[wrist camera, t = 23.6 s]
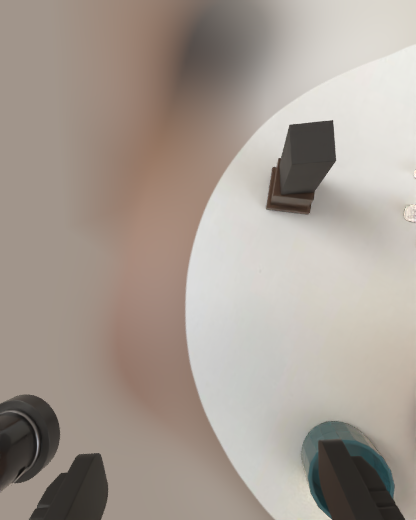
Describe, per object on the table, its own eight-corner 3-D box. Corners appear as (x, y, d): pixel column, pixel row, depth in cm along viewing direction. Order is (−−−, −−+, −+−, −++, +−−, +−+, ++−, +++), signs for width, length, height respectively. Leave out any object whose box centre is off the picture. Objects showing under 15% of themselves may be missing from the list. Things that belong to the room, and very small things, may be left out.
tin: (296, 485, 36) (303, 513, 32) (306, 413, 37) (314, 430, 33) (371, 505, 35) (388, 537, 31) (380, 430, 36) (398, 450, 31)
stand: (265, 209, 40) (268, 198, 35) (272, 169, 41) (275, 153, 36) (308, 214, 39) (317, 204, 34) (314, 173, 40) (323, 158, 35)
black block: (280, 195, 35) (291, 164, 26) (279, 164, 36) (289, 124, 27) (313, 192, 35) (336, 160, 26) (311, 161, 35) (333, 120, 26)
